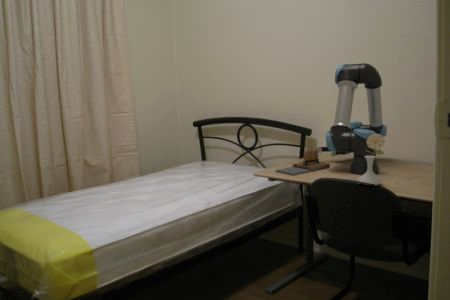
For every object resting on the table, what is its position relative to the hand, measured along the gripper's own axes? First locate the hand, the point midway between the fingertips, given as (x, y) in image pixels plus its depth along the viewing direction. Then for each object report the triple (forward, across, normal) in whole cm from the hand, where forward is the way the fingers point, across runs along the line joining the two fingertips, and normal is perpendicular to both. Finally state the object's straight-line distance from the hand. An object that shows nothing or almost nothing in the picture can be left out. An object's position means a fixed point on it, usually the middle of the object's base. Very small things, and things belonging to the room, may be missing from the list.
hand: (322, 152), depth 251 cm
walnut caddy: (+10, 0, -8) cm, 13 cm away
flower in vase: (+20, -48, -8) cm, 53 cm away
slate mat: (+25, 0, -8) cm, 26 cm away
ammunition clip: (+10, 0, -8) cm, 13 cm away
